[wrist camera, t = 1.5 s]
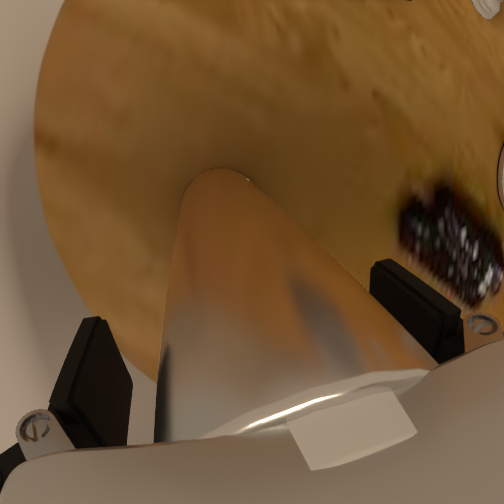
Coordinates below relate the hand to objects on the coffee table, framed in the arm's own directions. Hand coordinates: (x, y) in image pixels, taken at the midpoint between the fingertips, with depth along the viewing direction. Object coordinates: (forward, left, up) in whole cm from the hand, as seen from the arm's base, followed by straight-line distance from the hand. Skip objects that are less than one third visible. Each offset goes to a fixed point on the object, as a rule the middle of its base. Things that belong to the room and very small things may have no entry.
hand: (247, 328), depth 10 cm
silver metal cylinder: (-1, 0, -18) cm, 18 cm away
